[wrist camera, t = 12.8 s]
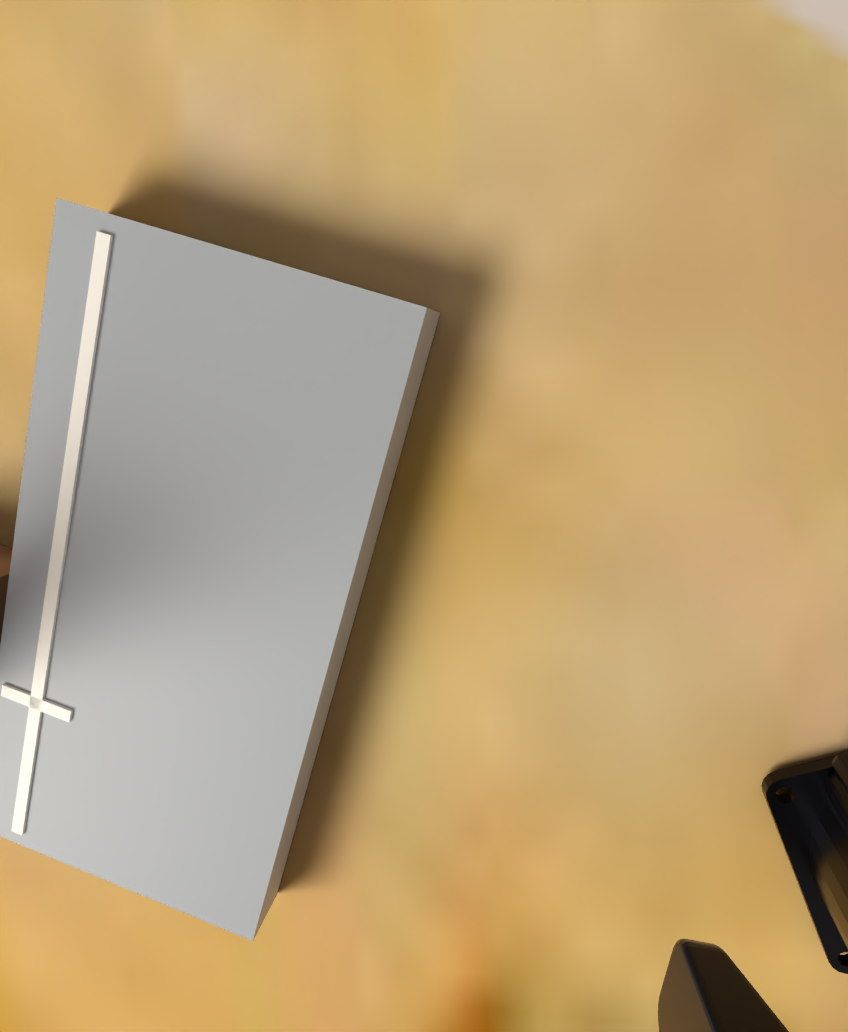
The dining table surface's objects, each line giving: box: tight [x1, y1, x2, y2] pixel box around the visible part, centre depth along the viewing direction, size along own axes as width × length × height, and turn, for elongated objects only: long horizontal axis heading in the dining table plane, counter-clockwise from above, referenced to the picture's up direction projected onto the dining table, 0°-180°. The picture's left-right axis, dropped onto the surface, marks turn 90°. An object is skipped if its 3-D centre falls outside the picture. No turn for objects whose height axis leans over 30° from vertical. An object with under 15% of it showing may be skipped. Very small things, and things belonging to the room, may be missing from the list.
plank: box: [0, 198, 440, 941], centre depth 20 cm, size 20×10×2 cm, turn 164°
